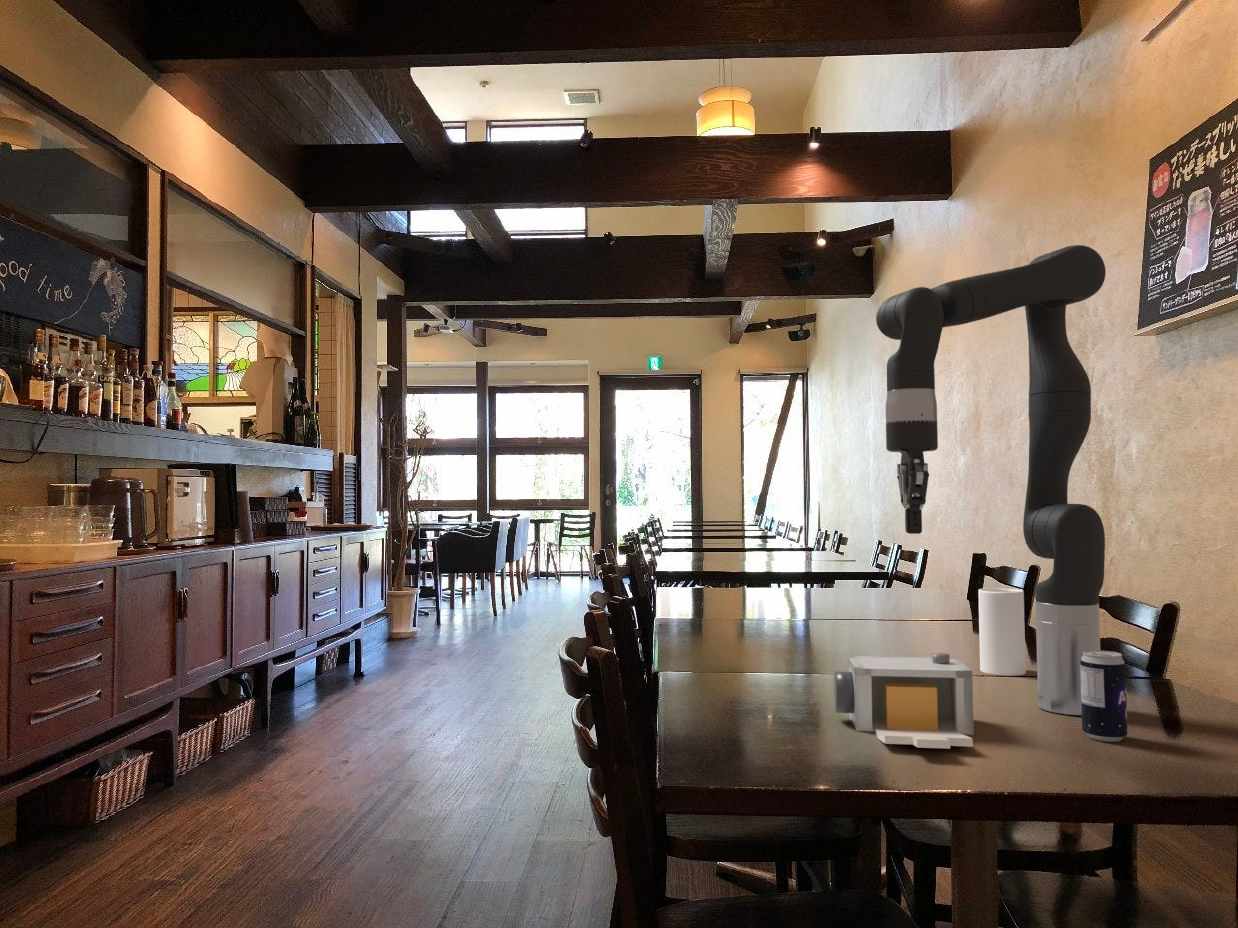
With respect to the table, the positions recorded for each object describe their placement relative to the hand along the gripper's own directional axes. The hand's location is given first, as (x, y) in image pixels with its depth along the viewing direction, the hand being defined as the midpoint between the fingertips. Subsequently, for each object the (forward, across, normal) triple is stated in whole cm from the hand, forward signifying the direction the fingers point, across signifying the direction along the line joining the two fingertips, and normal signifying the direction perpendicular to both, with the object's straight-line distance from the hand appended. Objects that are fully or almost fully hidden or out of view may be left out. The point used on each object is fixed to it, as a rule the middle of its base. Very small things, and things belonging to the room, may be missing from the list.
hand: (913, 533), depth 134 cm
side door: (+28, -10, +2) cm, 30 cm away
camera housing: (+29, -4, +3) cm, 29 cm away
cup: (+29, +44, -24) cm, 58 cm away
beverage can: (+29, -4, -25) cm, 39 cm away
